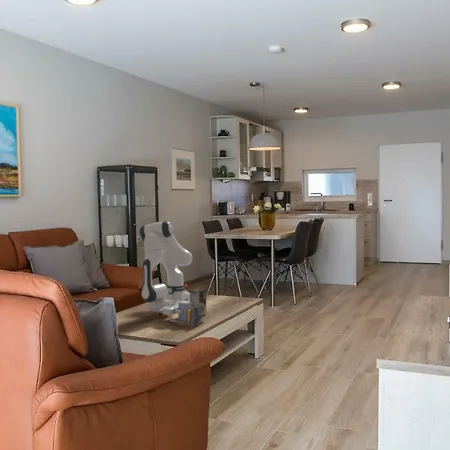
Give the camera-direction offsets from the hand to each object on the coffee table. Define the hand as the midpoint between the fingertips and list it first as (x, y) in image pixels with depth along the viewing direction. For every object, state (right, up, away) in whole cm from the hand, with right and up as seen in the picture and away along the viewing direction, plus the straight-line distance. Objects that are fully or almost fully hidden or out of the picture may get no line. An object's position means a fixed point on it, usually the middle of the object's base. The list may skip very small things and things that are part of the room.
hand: (186, 310), depth 309 cm
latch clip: (+4, -7, -2) cm, 8 cm away
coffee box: (+6, -7, +22) cm, 24 cm away
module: (-1, -6, +1) cm, 7 cm away
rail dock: (-1, -8, +1) cm, 8 cm away
